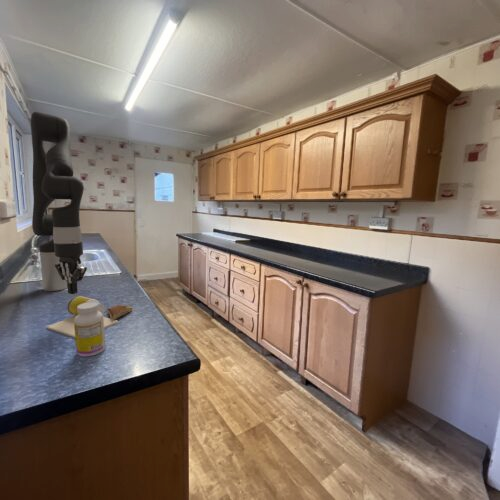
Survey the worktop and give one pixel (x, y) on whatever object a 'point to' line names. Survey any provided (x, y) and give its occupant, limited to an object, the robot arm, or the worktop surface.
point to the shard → (118, 311)
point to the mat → (68, 326)
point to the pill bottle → (80, 300)
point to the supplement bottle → (89, 330)
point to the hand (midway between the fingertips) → (72, 293)
